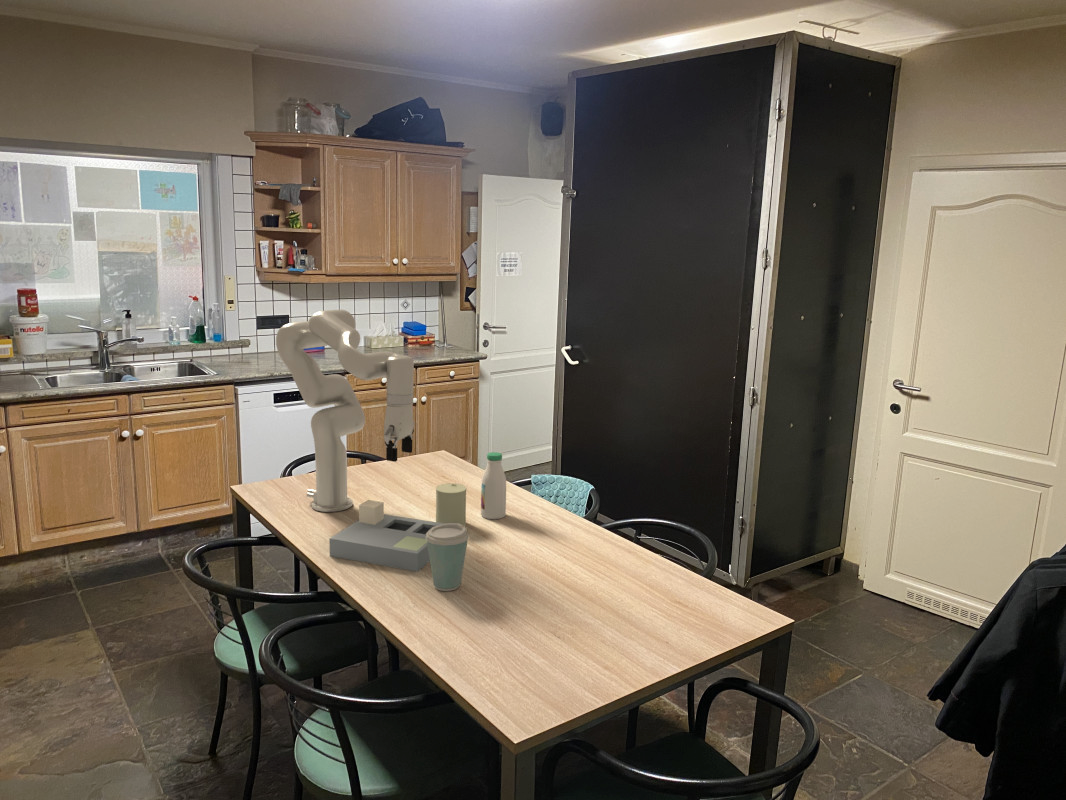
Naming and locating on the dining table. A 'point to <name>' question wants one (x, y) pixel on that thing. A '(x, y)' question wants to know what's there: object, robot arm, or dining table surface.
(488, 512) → the milk bottle
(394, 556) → the box
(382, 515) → the block
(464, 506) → the can
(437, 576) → the disposable coffee cup
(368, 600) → the dining table surface
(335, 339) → the robot arm
